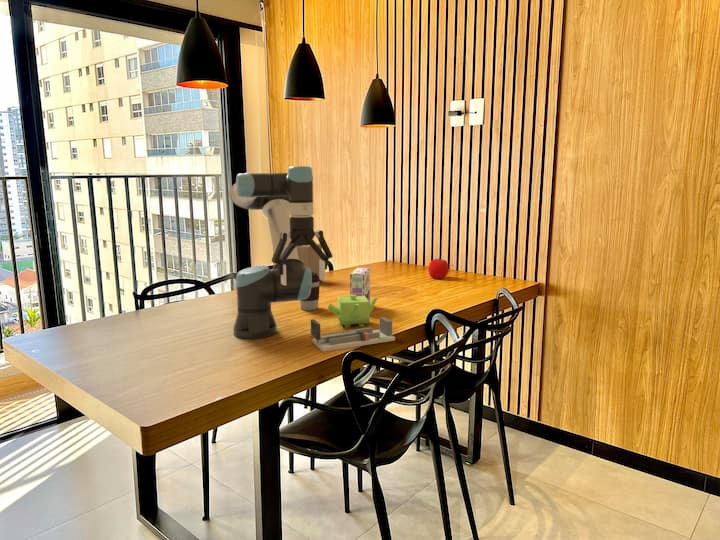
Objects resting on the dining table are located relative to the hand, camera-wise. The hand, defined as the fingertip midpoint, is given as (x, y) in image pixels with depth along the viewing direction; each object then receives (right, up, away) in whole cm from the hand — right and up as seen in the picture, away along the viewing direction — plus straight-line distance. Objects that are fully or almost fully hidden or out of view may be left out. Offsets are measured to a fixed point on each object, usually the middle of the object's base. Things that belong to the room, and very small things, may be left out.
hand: (303, 282), depth 166 cm
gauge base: (+16, -20, +8) cm, 27 cm away
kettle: (+16, -17, +27) cm, 36 cm away
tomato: (+60, -1, +109) cm, 124 cm away
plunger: (+11, -19, +4) cm, 23 cm away
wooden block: (-8, -2, +102) cm, 102 cm away
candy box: (+18, -13, +49) cm, 54 cm away
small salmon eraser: (+20, -19, +5) cm, 28 cm away
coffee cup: (-3, -12, +50) cm, 52 cm away
